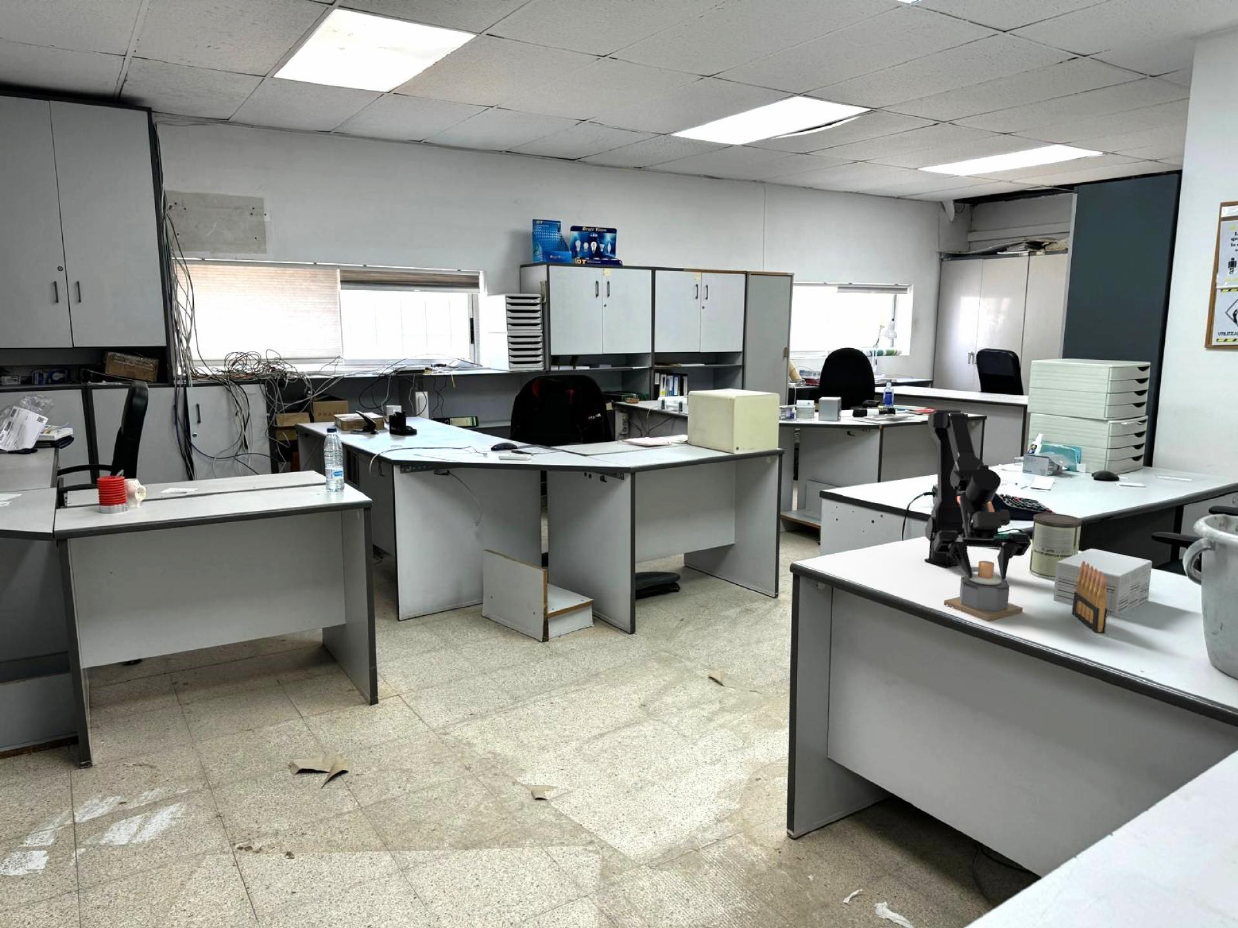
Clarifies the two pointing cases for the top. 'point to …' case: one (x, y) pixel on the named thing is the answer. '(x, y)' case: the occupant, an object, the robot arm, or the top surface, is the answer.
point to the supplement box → (1122, 574)
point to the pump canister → (984, 600)
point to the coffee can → (1053, 542)
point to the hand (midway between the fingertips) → (987, 578)
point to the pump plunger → (986, 574)
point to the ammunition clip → (1091, 598)
